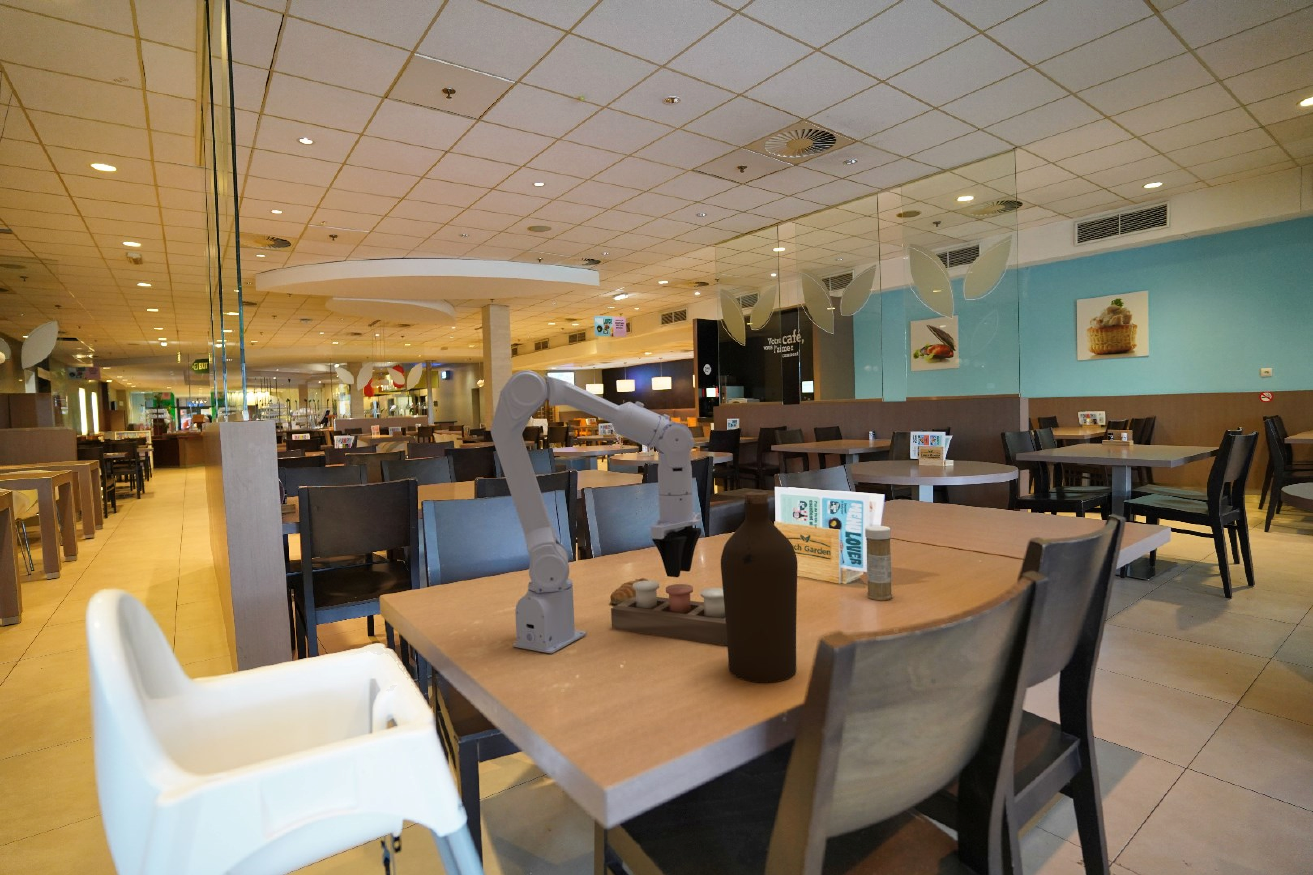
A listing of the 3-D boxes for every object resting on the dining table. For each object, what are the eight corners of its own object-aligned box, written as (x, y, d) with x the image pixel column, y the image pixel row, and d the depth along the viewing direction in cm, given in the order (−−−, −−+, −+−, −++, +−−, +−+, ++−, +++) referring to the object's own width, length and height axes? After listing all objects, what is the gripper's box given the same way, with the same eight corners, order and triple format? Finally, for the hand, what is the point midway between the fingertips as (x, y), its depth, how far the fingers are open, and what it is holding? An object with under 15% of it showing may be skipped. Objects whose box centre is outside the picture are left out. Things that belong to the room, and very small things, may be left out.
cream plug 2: (722, 621, 105) (721, 596, 104) (696, 617, 107) (695, 593, 107) (733, 613, 109) (732, 589, 108) (708, 609, 111) (707, 586, 111)
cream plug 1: (651, 612, 111) (650, 588, 111) (628, 609, 113) (627, 586, 113) (664, 604, 115) (663, 582, 115) (642, 601, 117) (641, 579, 117)
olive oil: (811, 681, 88) (805, 495, 87) (733, 688, 87) (726, 499, 86) (787, 652, 98) (782, 486, 97) (718, 658, 97) (711, 490, 96)
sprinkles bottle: (875, 592, 127) (873, 524, 127) (897, 597, 124) (895, 526, 123) (862, 597, 124) (860, 527, 124) (883, 602, 121) (881, 530, 120)
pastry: (627, 610, 123) (626, 589, 123) (601, 604, 128) (600, 585, 128) (658, 598, 131) (657, 579, 131) (633, 593, 135) (632, 575, 135)
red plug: (686, 616, 108) (685, 592, 108) (661, 613, 110) (660, 589, 110) (698, 608, 112) (697, 585, 112) (674, 605, 114) (673, 583, 114)
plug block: (730, 646, 102) (730, 624, 102) (611, 628, 112) (610, 608, 112) (751, 628, 110) (750, 607, 109) (638, 613, 120) (637, 594, 120)
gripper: (677, 500, 102) (680, 586, 102) (715, 488, 114) (717, 565, 115) (637, 498, 105) (641, 582, 106) (679, 487, 118) (681, 562, 118)
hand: (678, 573), depth 111 cm, fingers open, 3 cm apart
